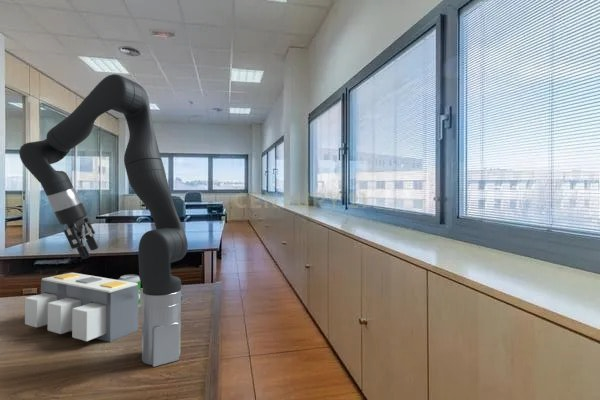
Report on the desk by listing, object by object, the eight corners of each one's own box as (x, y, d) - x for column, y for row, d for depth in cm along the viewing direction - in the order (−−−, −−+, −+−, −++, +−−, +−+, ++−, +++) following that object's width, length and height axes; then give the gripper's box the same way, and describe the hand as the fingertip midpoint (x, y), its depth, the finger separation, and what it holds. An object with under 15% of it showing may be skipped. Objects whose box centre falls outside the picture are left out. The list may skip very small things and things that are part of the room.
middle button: (60, 334, 96) (60, 305, 96) (47, 330, 99) (47, 302, 99) (91, 323, 105) (91, 297, 105) (78, 320, 107) (78, 294, 107)
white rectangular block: (37, 327, 101) (37, 300, 101) (24, 324, 103) (25, 297, 103) (68, 317, 109) (68, 292, 109) (56, 314, 111) (56, 290, 111)
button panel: (110, 342, 96) (110, 289, 96) (40, 323, 109) (41, 277, 109) (138, 330, 105) (138, 282, 105) (70, 314, 118) (71, 271, 118)
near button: (86, 341, 92) (86, 311, 92) (72, 337, 94) (72, 308, 94) (116, 329, 100) (116, 302, 100) (102, 326, 103) (102, 299, 103)
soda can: (133, 313, 120) (134, 279, 119) (112, 312, 120) (113, 278, 120) (144, 306, 127) (144, 274, 127) (124, 305, 127) (124, 273, 127)
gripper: (72, 206, 96) (96, 256, 101) (87, 197, 110) (109, 242, 114) (43, 215, 95) (69, 266, 99) (63, 205, 108) (85, 250, 112)
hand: (90, 253), depth 106 cm, fingers open, 8 cm apart
